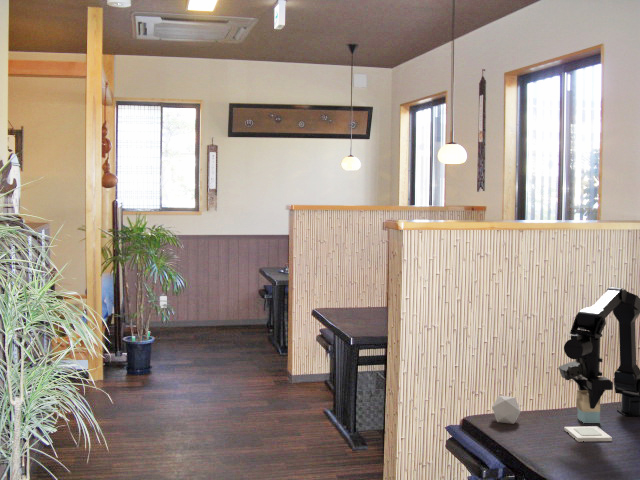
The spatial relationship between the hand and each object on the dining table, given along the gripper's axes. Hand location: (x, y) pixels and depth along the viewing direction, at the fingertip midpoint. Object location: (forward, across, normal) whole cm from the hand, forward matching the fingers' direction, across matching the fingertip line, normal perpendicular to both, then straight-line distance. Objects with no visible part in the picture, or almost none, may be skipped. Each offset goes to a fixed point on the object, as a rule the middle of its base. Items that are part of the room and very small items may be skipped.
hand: (588, 405), depth 207 cm
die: (+9, -14, -20) cm, 26 cm away
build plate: (+9, 0, 0) cm, 9 cm away
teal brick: (+9, -13, +6) cm, 17 cm away
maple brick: (+1, 0, 0) cm, 1 cm away
